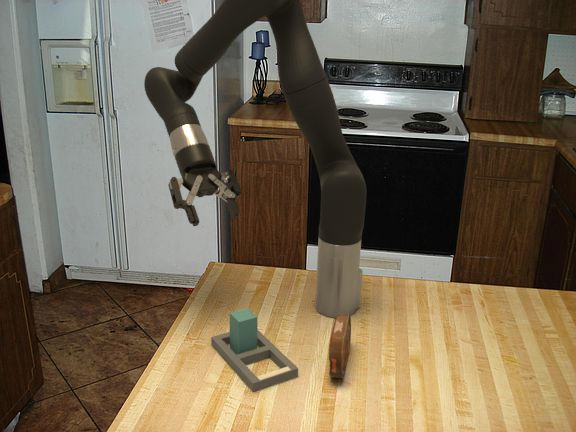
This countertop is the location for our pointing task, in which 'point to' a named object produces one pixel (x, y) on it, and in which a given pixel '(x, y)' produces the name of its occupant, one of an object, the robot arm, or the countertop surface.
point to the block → (243, 331)
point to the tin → (340, 346)
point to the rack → (255, 355)
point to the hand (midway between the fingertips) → (216, 221)
